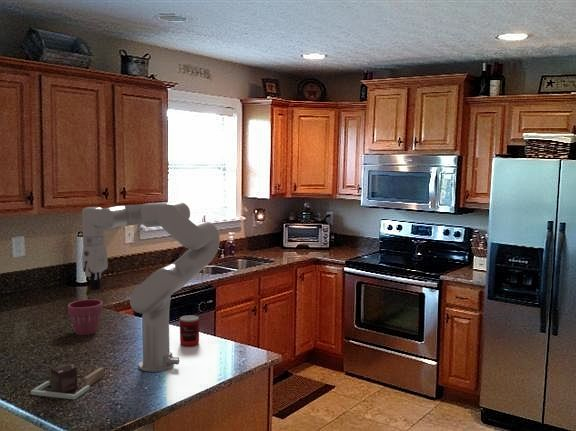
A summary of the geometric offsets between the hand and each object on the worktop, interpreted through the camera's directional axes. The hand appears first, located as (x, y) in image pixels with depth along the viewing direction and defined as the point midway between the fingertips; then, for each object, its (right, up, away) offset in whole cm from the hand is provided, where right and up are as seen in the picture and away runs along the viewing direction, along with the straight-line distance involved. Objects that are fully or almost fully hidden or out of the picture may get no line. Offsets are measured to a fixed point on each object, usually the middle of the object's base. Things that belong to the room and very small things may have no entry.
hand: (95, 289), depth 211 cm
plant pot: (-17, -24, +37) cm, 47 cm away
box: (-2, -30, -23) cm, 38 cm away
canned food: (+31, -25, +22) cm, 46 cm away
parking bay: (-3, -30, -25) cm, 39 cm away
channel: (0, -29, -16) cm, 33 cm away
